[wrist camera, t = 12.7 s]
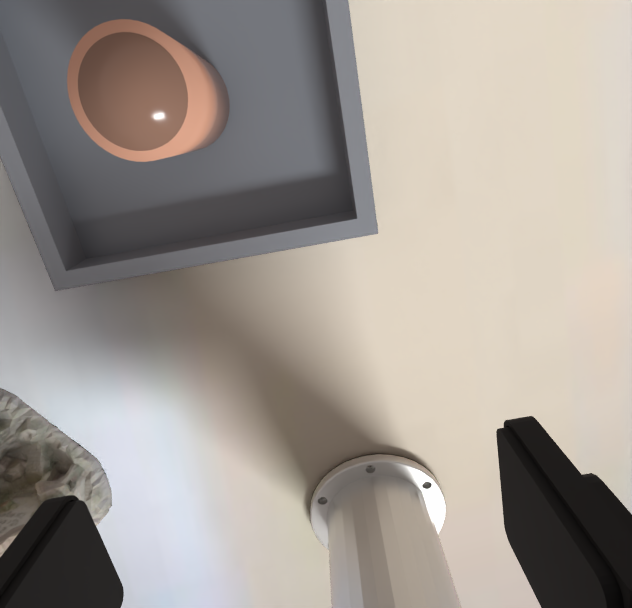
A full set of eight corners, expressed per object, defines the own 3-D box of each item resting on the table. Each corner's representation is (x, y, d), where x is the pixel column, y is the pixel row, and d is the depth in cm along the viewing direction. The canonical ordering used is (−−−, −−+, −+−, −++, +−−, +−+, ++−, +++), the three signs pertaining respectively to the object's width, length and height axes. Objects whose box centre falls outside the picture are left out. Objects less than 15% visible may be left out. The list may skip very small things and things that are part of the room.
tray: (370, 221, 34) (378, 233, 30) (82, 272, 35) (55, 290, 31) (324, -120, 26) (327, -160, 23) (-38, -42, 27) (-92, -67, 24)
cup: (239, 142, 31) (213, 149, 22) (152, 159, 31) (93, 172, 22) (216, 41, 28) (177, 6, 20) (123, 60, 29) (45, 33, 20)
